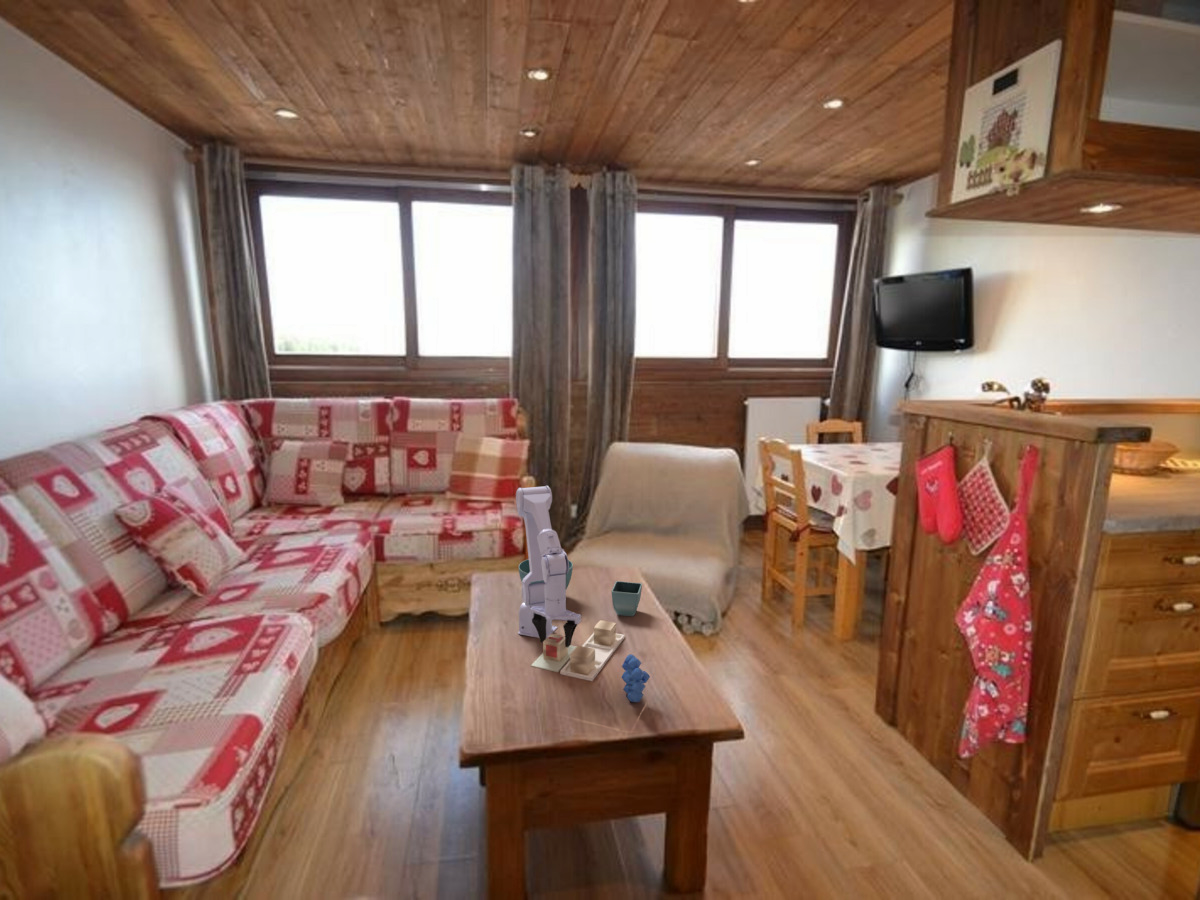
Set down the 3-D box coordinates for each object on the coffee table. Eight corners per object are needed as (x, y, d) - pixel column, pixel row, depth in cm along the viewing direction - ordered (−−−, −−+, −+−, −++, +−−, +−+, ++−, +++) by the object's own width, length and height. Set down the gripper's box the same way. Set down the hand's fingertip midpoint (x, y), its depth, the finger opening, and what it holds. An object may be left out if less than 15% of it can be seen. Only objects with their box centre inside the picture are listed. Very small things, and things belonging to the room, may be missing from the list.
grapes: (657, 712, 140) (658, 665, 138) (630, 716, 139) (630, 669, 137) (642, 685, 151) (642, 641, 149) (616, 689, 150) (616, 644, 148)
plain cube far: (593, 643, 172) (593, 627, 171) (600, 636, 177) (600, 620, 176) (610, 646, 170) (610, 630, 169) (616, 639, 175) (616, 623, 174)
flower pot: (638, 620, 188) (638, 593, 186) (610, 618, 189) (611, 591, 188) (642, 608, 196) (642, 583, 195) (615, 606, 198) (615, 580, 196)
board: (530, 667, 160) (530, 665, 160) (553, 643, 173) (553, 641, 173) (557, 673, 157) (557, 671, 157) (579, 648, 170) (579, 646, 170)
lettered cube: (543, 658, 163) (542, 641, 162) (551, 650, 168) (551, 633, 167) (559, 662, 161) (559, 644, 160) (567, 653, 166) (567, 636, 165)
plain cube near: (570, 671, 157) (570, 654, 156) (577, 662, 162) (577, 645, 161) (587, 675, 155) (587, 657, 154) (595, 666, 160) (595, 648, 159)
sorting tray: (560, 675, 156) (560, 671, 156) (596, 633, 179) (596, 629, 179) (592, 682, 153) (592, 678, 153) (624, 638, 176) (624, 634, 176)
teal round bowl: (510, 606, 197) (509, 571, 195) (532, 586, 214) (531, 553, 212) (561, 614, 192) (561, 577, 190) (580, 592, 209) (579, 558, 207)
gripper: (524, 597, 161) (525, 644, 163) (573, 606, 156) (573, 655, 158) (536, 588, 167) (537, 633, 170) (584, 596, 162) (584, 642, 164)
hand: (555, 643), depth 164 cm, fingers open, 7 cm apart
